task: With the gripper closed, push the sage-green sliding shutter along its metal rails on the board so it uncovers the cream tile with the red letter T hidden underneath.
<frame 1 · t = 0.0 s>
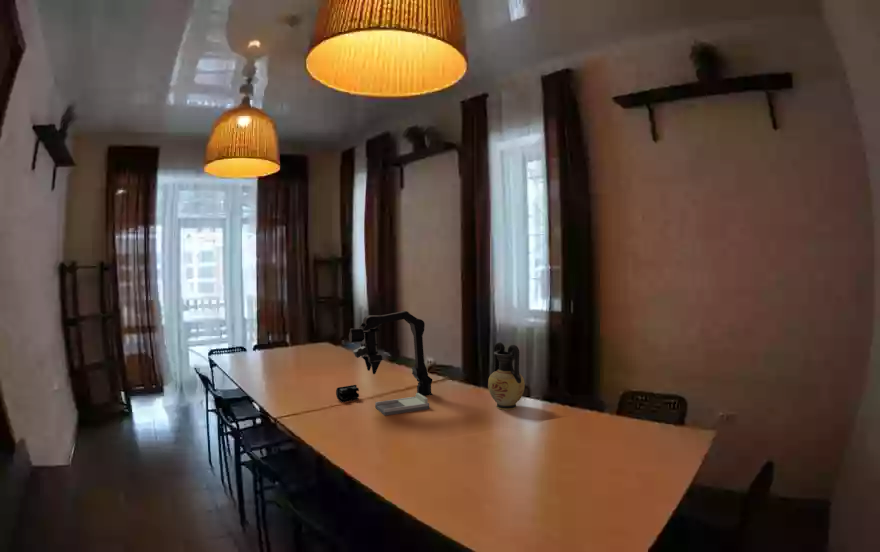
hand: (371, 372, 253), 15 cm above the table, fingers open, 9 cm apart
sage shutter: (412, 400, 243), point 3 cm above the table, slide at 0.0 cm
amphora: (506, 407, 239), on the table
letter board: (402, 408, 241), on the table
end cap: (348, 400, 258), on the table
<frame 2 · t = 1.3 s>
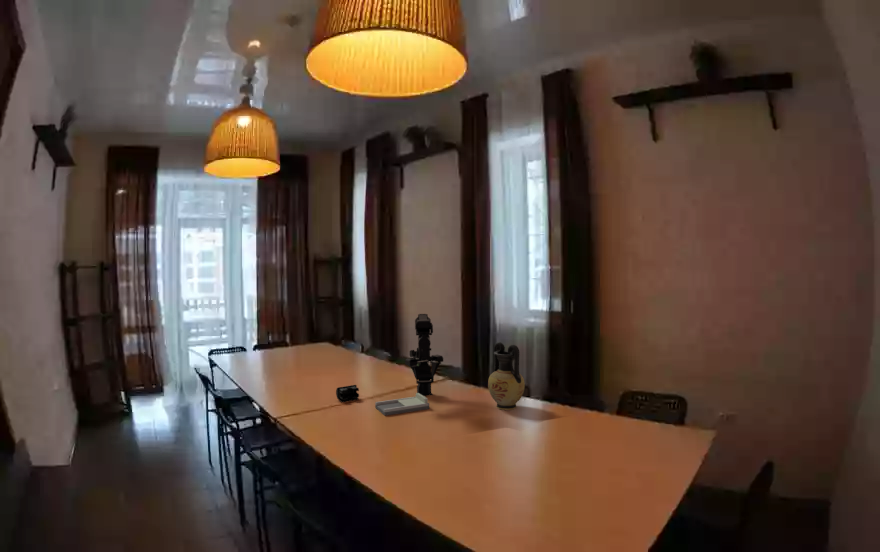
hand: (424, 377, 248), 12 cm above the table, fingers open, 9 cm apart
nothing on the table moved.
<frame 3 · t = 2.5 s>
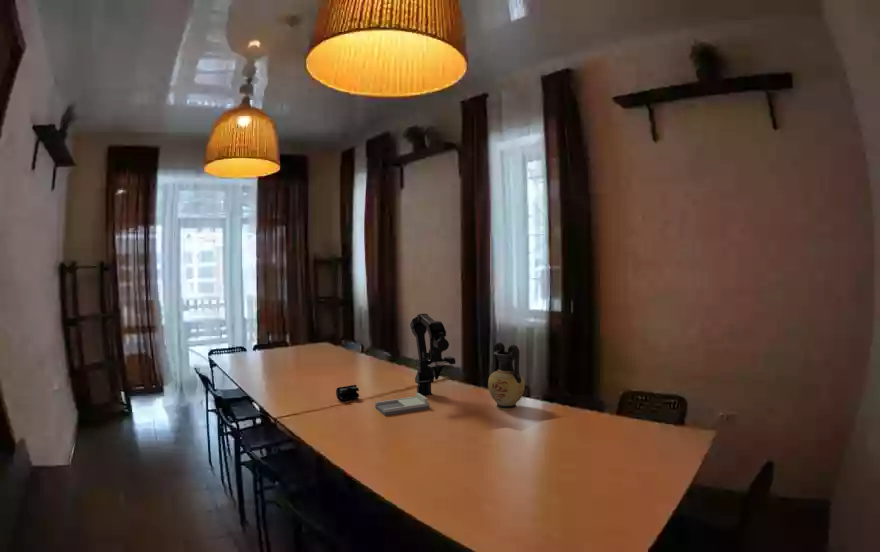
hand: (436, 379, 248), 12 cm above the table, fingers closed
nothing on the table moved.
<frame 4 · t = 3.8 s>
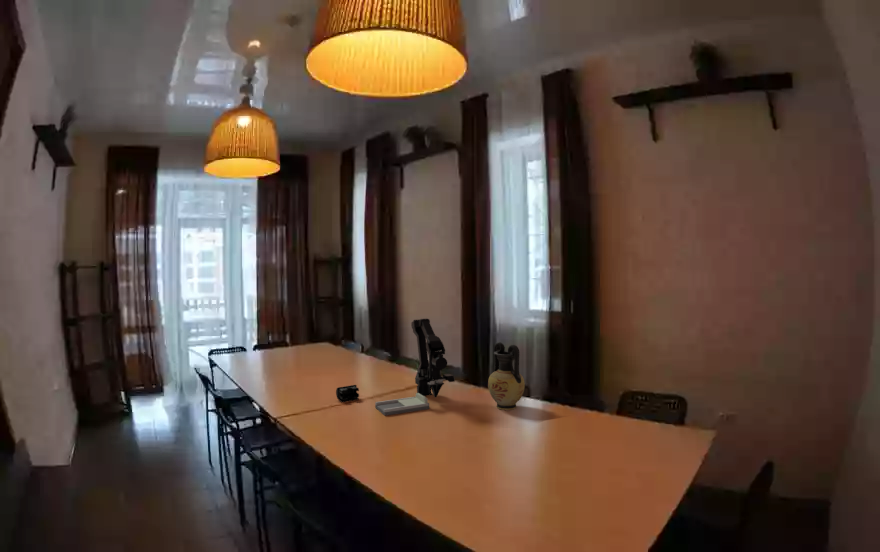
hand: (435, 397, 248), 3 cm above the table, fingers closed
nothing on the table moved.
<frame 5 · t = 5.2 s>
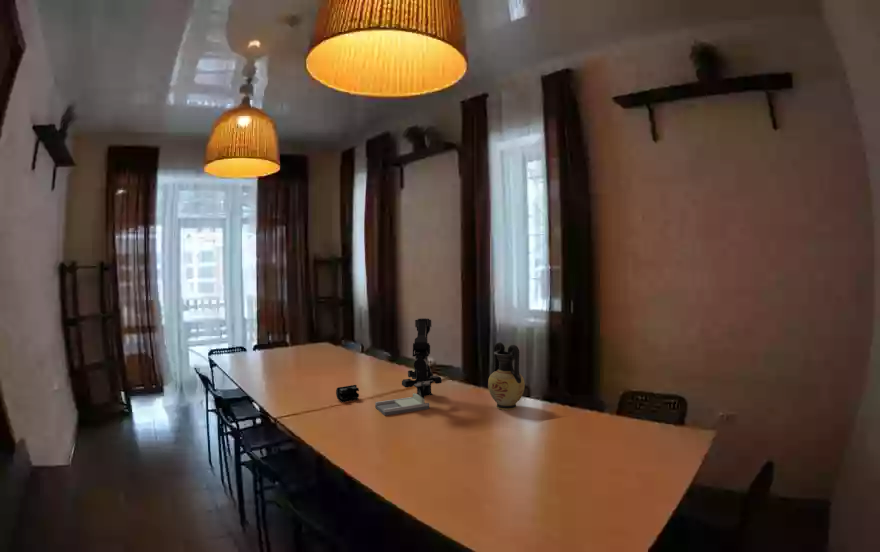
hand: (422, 399, 245), 3 cm above the table, fingers closed
sage shutter: (409, 400, 242), point 3 cm above the table, slide at 1.6 cm, touching gripper
everything else where it was.
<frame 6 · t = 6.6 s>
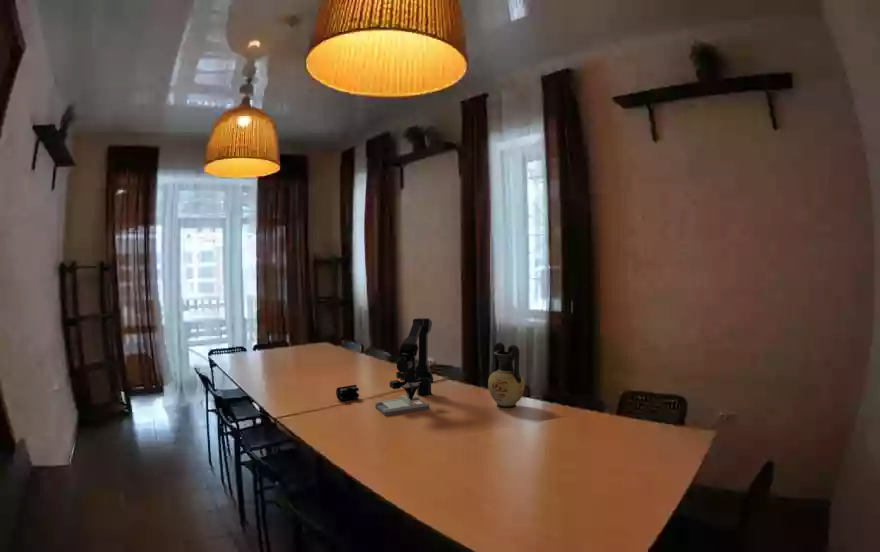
hand: (410, 400, 242), 3 cm above the table, fingers closed
sage shutter: (397, 402, 240), point 3 cm above the table, slide at 7.6 cm, touching gripper
everything else where it was.
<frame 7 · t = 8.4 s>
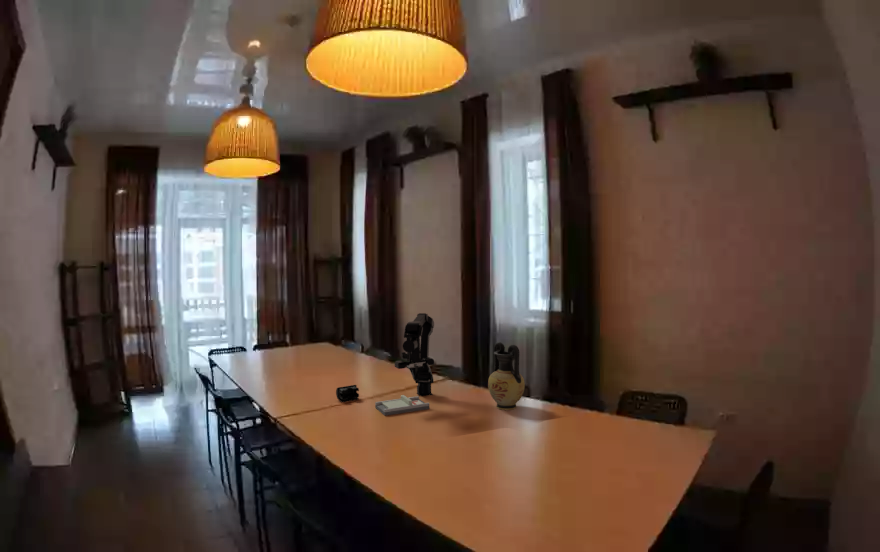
hand: (415, 380, 246), 12 cm above the table, fingers closed
sage shutter: (396, 402, 239), point 3 cm above the table, slide at 7.8 cm
everything else where it was.
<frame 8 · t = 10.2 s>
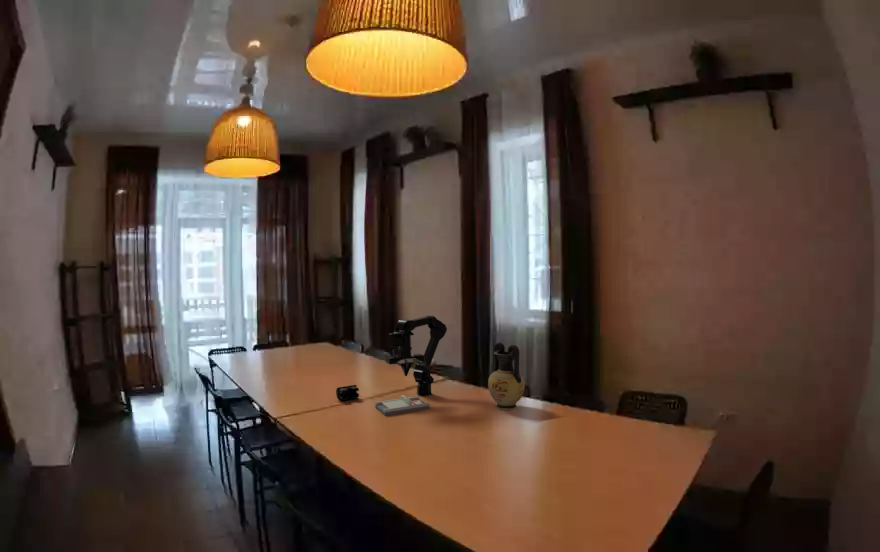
hand: (405, 376, 255), 12 cm above the table, fingers closed
nothing on the table moved.
at the end: sage shutter slide at 7.8 cm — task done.
